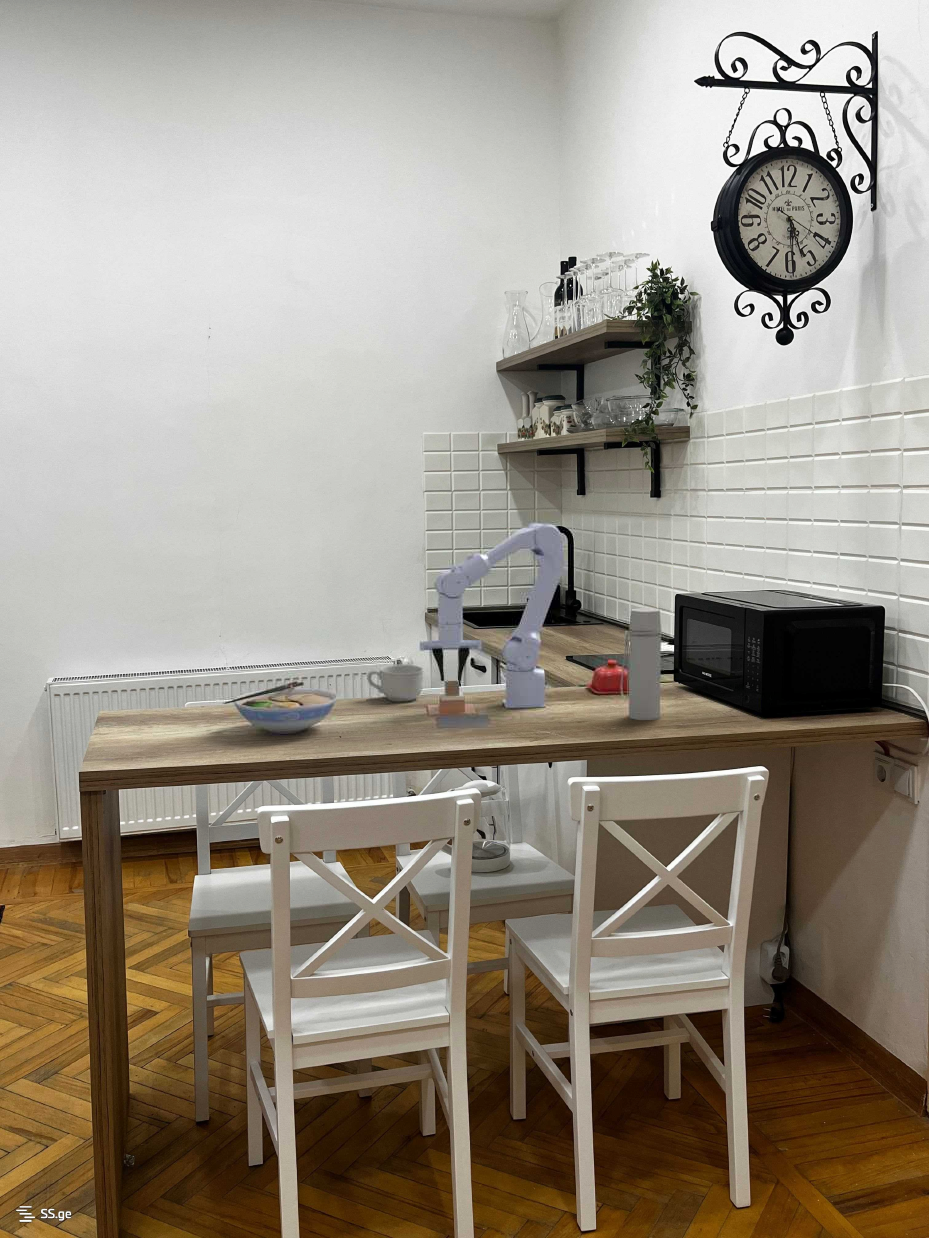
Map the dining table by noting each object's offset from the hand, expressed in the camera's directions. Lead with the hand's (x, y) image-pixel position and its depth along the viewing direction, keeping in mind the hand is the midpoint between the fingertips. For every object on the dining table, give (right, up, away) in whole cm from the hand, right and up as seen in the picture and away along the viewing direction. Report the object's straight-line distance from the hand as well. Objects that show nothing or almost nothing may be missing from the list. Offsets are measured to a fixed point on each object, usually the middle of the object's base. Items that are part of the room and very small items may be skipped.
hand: (450, 680), depth 252 cm
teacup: (-14, -6, +16) cm, 22 cm away
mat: (+3, -9, -12) cm, 15 cm away
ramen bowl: (-36, -10, -17) cm, 41 cm away
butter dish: (+41, -5, +23) cm, 47 cm away
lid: (0, -4, -1) cm, 4 cm away
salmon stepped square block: (0, -7, +1) cm, 7 cm away
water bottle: (+43, -9, -10) cm, 45 cm away
